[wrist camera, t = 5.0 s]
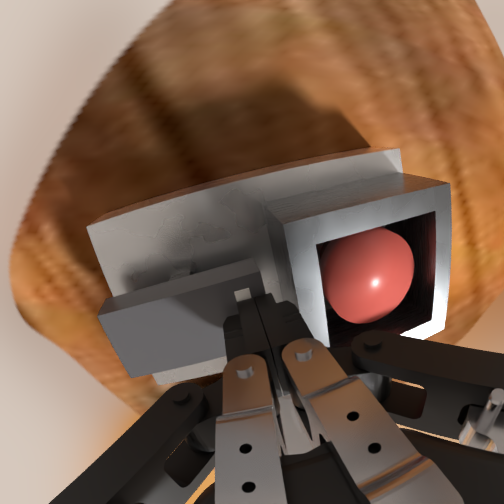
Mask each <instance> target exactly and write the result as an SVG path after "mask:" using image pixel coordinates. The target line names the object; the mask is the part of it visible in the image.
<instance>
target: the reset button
mask: <svg viewBox="0 0 504 504" xmlns="http://www.w3.org/2000/svg"><path fill="white" fill-rule="evenodd" d="M319 268H320V275H321V282H322V289H323V296H324V297H325V298H326V300H327V301H328V302H329V304H330V305H331V306H332V307H333V309H334V310H335V311H336V313H337V314H338V315H339V316H340V317H341V318H343V319H345V320H346V321H349V322H352V323H359V324H362V323H370V322H373V321H376V320H379V319H381V318H383V317H384V316H386V315H387V314H389V313H390V312H391V311H393V310H394V309H395V308H396V307H397V306H398V305H399V304H400V302H401V301H402V300H403V298H404V297H405V295H406V293H407V291H408V289H409V287H410V285H411V282H412V278H413V273H414V259H413V254H412V251H411V249H410V247H409V245H408V244H407V242H406V241H405V240H404V239H403V238H402V237H401V236H399V235H398V234H396V233H394V232H392V231H390V230H388V229H386V228H384V227H382V226H380V227H376V228H373V229H369V230H366V231H362V232H359V233H355V234H351V235H348V236H344V237H341V238H337V239H334V240H331V241H330V242H329V244H328V245H327V247H326V248H325V250H324V252H323V254H322V256H321V259H320V262H319Z"/></svg>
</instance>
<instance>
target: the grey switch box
mask: <svg viewBox="0 0 504 504" xmlns="http://www.w3.org/2000/svg"><path fill="white" fill-rule="evenodd" d="M380 226H382V227H384V228H386V229H388V230H390V231H392V232H394V233H396V234H398V235H399V236H401V237H402V238H403V239H404V240H405V241H406V242H407V244H408V245H409V247H410V249H411V251H412V254H413V259H414V273H413V278H412V282H411V285H410V287H409V289H408V291H407V293H406V295H405V297H404V298H403V300H402V301H401V302H400V304H399V305H398V306H397V307H396V308H395V309H394V310H393V311H391V312H390V313H389V314H387V315H386V316H384V317H383V318H381V319H379V320H376V321H373V322H370V323H362V324H359V323H352V322H349V321H346V320H345V319H343V318H341V317H340V316H339V315H338V314H337V313H336V311H335V310H334V309H333V307H332V306H331V305H330V304H329V302H328V301H327V300H326V298H325V297H324V296H323V289H322V282H321V275H320V268H319V262H320V259H321V256H322V254H323V252H324V250H325V248H326V247H327V245H328V244H329V242H330V241H331V240H334V239H337V238H341V237H344V236H348V235H351V234H355V233H359V232H362V231H366V230H369V229H373V228H376V227H380ZM86 228H87V231H88V233H89V236H90V239H91V242H92V245H93V247H94V250H95V253H96V255H97V258H98V261H99V263H100V266H101V268H102V271H103V273H104V276H105V278H106V280H107V283H108V285H109V288H110V290H111V292H112V295H113V297H115V296H118V295H122V294H125V293H129V292H132V291H136V290H140V289H143V288H147V287H150V286H154V285H157V284H161V283H164V282H168V281H172V280H175V279H179V278H182V277H186V276H189V275H193V274H196V273H200V272H203V271H207V270H210V269H214V268H217V267H221V266H224V265H228V264H232V263H235V262H239V261H242V260H246V259H249V258H253V259H254V261H255V262H256V264H257V266H258V268H259V269H260V272H261V276H262V280H263V284H264V288H265V292H266V294H267V293H272V295H273V297H274V299H275V301H276V303H279V302H282V301H286V300H288V301H289V302H291V303H293V304H295V305H296V307H297V308H298V310H299V312H300V314H301V315H302V317H303V319H304V321H305V322H306V324H307V326H308V328H309V330H310V331H311V333H312V335H313V337H314V338H315V339H317V340H319V341H321V342H322V343H323V344H324V346H326V347H330V348H340V347H349V346H351V343H352V341H353V339H354V338H355V337H356V336H357V335H359V334H360V333H363V332H365V331H370V330H380V331H385V332H389V333H394V334H399V335H404V336H408V337H413V338H418V339H425V338H427V337H429V336H431V335H433V334H435V333H437V332H439V331H441V330H443V329H444V326H445V319H446V311H447V302H448V292H449V281H450V266H451V237H452V219H451V190H450V183H447V182H443V181H439V180H434V179H430V178H425V177H420V176H415V175H410V174H405V173H403V171H402V163H401V156H400V149H399V148H385V147H368V148H361V149H355V150H350V151H344V152H338V153H333V154H327V155H322V156H317V157H312V158H307V159H302V160H297V161H293V162H288V163H283V164H279V165H274V166H270V167H266V168H261V169H257V170H253V171H249V172H245V173H241V174H236V175H233V176H229V177H225V178H221V179H217V180H213V181H210V182H206V183H202V184H199V185H195V186H191V187H188V188H184V189H181V190H177V191H174V192H171V193H167V194H164V195H161V196H157V197H154V198H151V199H148V200H144V201H141V202H138V203H135V204H132V205H129V206H126V207H123V208H120V209H117V210H114V211H111V212H108V213H105V214H104V215H102V216H101V217H99V218H98V219H96V220H95V221H94V222H92V223H91V224H89V225H88V226H87V227H86ZM226 364H227V357H226V356H224V357H220V358H217V359H213V360H209V361H205V362H201V363H197V364H193V365H189V366H185V367H180V368H176V369H172V370H167V371H163V372H158V373H154V374H152V375H153V377H154V379H155V380H156V382H157V384H158V385H163V384H168V383H173V382H179V381H184V380H189V379H193V378H198V377H203V376H207V375H212V374H216V373H220V372H223V369H224V367H225V366H226Z"/></svg>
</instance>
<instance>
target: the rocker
mask: <svg viewBox="0 0 504 504" xmlns="http://www.w3.org/2000/svg"><path fill="white" fill-rule="evenodd" d="M264 294H266V292H265V288H264V284H263V280H262V276H261V272H260V269H259V268H258V266H257V264H256V262H255V261H254V259H253V258H249V259H246V260H242V261H239V262H235V263H232V264H228V265H224V266H221V267H217V268H214V269H210V270H207V271H203V272H200V273H196V274H193V275H189V276H186V277H182V278H179V279H175V280H172V281H168V282H164V283H161V284H157V285H154V286H150V287H147V288H143V289H140V290H136V291H132V292H129V293H125V294H122V295H118V296H115V297H111V298H107V299H106V300H105V302H104V304H103V306H102V307H101V309H100V311H99V313H98V315H97V317H98V319H99V321H100V323H101V325H102V327H103V329H104V331H105V333H106V335H107V337H108V338H109V340H110V342H111V344H112V346H113V348H114V350H115V351H116V353H117V355H118V357H119V359H120V360H121V362H122V364H123V366H124V367H125V369H126V371H127V372H128V374H129V376H130V377H131V378H134V377H139V376H144V375H149V374H154V373H158V372H163V371H167V370H172V369H176V368H180V367H185V366H189V365H193V364H197V363H201V362H205V361H209V360H213V359H217V358H220V357H224V356H226V349H225V340H224V332H223V324H224V322H225V320H226V318H227V317H228V316H232V315H236V314H239V312H238V307H237V302H238V301H242V300H246V299H249V298H253V297H256V296H260V295H264ZM254 300H255V299H254ZM256 307H257V306H256Z"/></svg>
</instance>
